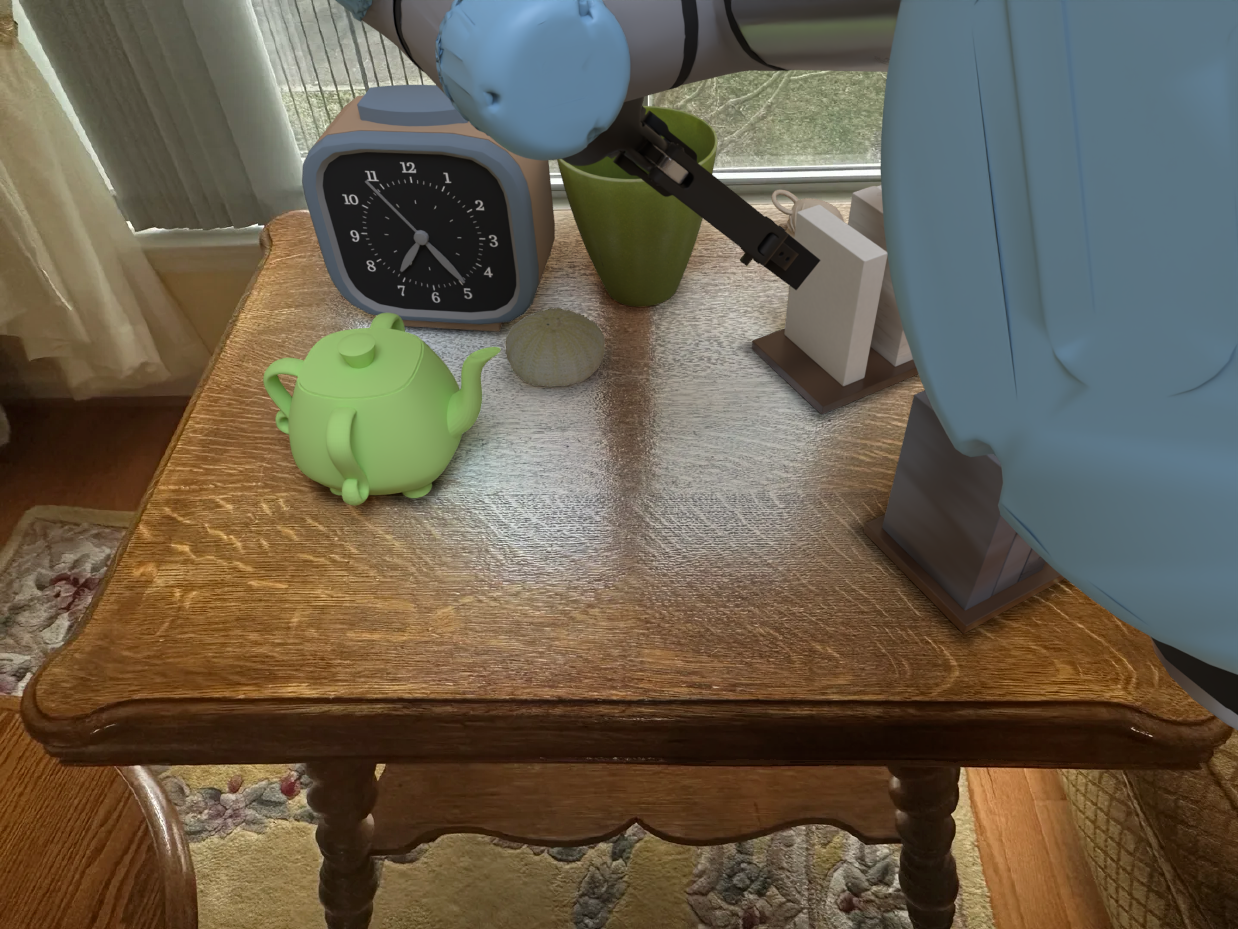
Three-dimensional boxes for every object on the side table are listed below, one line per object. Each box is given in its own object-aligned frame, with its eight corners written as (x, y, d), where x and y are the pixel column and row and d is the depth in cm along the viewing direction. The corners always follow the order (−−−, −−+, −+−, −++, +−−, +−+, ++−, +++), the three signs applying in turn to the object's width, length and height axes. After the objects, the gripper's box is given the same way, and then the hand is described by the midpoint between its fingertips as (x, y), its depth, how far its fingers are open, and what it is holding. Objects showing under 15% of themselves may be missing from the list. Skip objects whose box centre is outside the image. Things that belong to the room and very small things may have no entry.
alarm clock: (341, 328, 94) (278, 120, 79) (372, 275, 101) (319, 73, 86) (542, 340, 92) (516, 127, 76) (560, 284, 98) (540, 78, 83)
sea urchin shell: (600, 385, 83) (533, 327, 80) (546, 424, 88) (481, 370, 85) (624, 324, 90) (562, 268, 87) (572, 363, 95) (512, 312, 92)
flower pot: (557, 327, 93) (541, 178, 82) (579, 246, 104) (568, 103, 92) (708, 333, 91) (714, 181, 80) (715, 249, 102) (721, 105, 91)
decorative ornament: (836, 260, 100) (842, 215, 96) (764, 240, 103) (767, 196, 99) (850, 242, 102) (857, 197, 98) (780, 223, 105) (784, 179, 101)
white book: (864, 378, 84) (888, 252, 75) (843, 387, 84) (864, 261, 74) (804, 326, 90) (819, 203, 81) (783, 334, 89) (796, 211, 80)
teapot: (445, 378, 88) (420, 262, 79) (520, 464, 80) (501, 344, 71) (279, 449, 82) (232, 331, 73) (341, 549, 74) (296, 430, 65)
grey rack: (1067, 578, 69) (1138, 429, 59) (963, 634, 66) (1018, 488, 55) (961, 484, 76) (1007, 337, 66) (862, 531, 73) (895, 385, 62)
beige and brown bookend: (949, 361, 87) (986, 224, 77) (821, 415, 83) (842, 277, 73) (872, 301, 94) (897, 170, 84) (751, 348, 90) (761, 215, 80)
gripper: (453, 66, 66) (644, 201, 81) (621, 223, 50) (818, 355, 65) (513, -30, 64) (697, 127, 79) (708, 102, 48) (891, 267, 63)
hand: (752, 231), depth 72 cm, fingers open, 13 cm apart
